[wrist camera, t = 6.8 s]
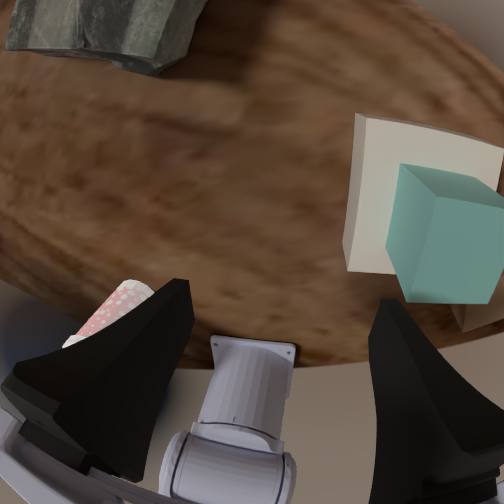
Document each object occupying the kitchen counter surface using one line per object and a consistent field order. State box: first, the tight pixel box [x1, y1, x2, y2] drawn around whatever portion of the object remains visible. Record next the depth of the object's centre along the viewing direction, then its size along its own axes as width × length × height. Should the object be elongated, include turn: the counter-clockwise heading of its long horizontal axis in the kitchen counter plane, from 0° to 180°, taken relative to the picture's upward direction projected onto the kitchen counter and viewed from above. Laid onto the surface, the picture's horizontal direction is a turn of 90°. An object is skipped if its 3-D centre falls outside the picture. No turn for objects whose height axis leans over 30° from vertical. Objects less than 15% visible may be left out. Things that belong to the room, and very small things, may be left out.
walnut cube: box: [449, 269, 504, 333], centre depth 17 cm, size 4×4×4 cm
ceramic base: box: [342, 113, 504, 274], centre depth 16 cm, size 9×9×4 cm
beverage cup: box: [63, 280, 154, 348], centre depth 21 cm, size 6×6×14 cm
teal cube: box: [385, 163, 504, 304], centre depth 12 cm, size 5×5×5 cm
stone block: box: [5, 0, 209, 76], centre depth 12 cm, size 9×14×5 cm, turn 71°
